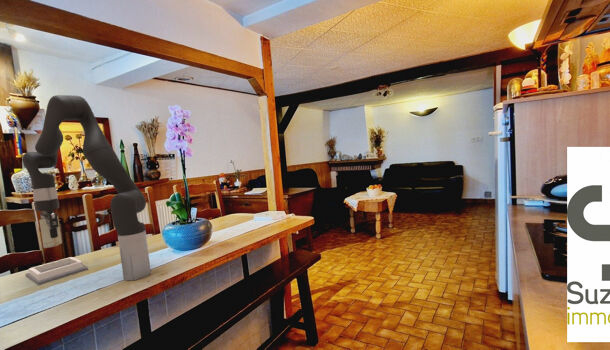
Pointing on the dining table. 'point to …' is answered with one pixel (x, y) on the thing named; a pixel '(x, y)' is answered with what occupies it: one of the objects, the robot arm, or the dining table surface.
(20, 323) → the dining table surface
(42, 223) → the skincare box
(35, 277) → the pocket board
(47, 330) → the dining table surface
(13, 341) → the dining table surface
